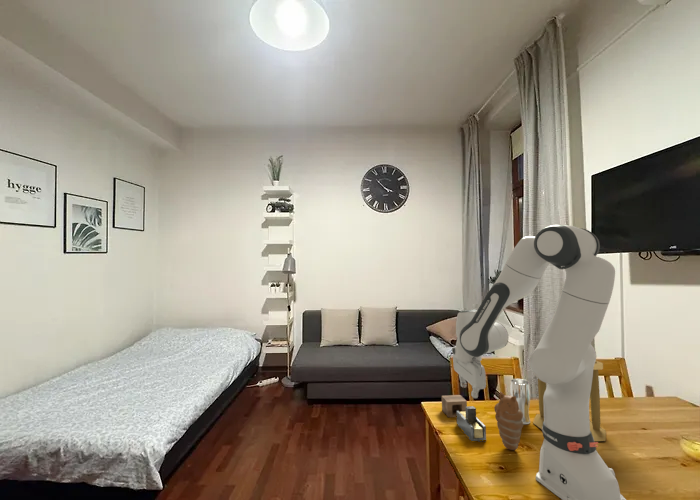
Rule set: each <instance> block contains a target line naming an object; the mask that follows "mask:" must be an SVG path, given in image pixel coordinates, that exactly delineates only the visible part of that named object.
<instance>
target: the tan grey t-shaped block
mask: <svg viewBox="0 0 700 500" xmlns="http://www.w3.org/2000/svg"><path fill="white" fill-rule="evenodd" d="M460 413H461V414H462V415H463V416H464V417H465V418H466V419H467V421H468V422H469V423H470V424H471V425H472V426H473V432H474V438H483V429H482V428H481V427H480V425H479V424H478V423H477V422H476V417H477V408H476V407H475V406H474V405H472V406H468V405H467V407H466V411H463V412H460Z"/></svg>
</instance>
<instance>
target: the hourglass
mask: <svg viewBox="0 0 700 500" xmlns="http://www.w3.org/2000/svg"><path fill="white" fill-rule="evenodd" d="M603 369H604V362H602V361H598V360H596V361H595V364H594V368H593V378H592V386H591V392H590V399H589V401H590V413H591V414H590V415H591V420H590V431H591V433H592V436H593V438H594V442H606V439H607V436H606V435H607V434H606V429H605V428H603V427H602V426H601V396H600V394H601V393H600V380H599V379H600V378H599V371H600V370H603ZM546 388H547V383H545V382H543V381H541V380H539V379H538V378H537V390H538V391H537V392H538V411H539V413H536V415H535V416H534V419H533V421H532V423H533V424H534V425H535V426H537V428H539V429H540V430H541V431H542V426H543V422H544V402H543V396H544V393H545V390H546Z"/></svg>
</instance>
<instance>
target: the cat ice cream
mask: <svg viewBox="0 0 700 500" xmlns="http://www.w3.org/2000/svg"><path fill="white" fill-rule="evenodd" d="M499 396H500V397H499V398H500V399H499V401H498V403H496V404H495V405H494V409H493V410H494V413H495V414H494V415H495V420H496V421H497V423H496V426H497V428H498V432H499V437H500V438H501V442H502V445H503V446H504V447H505V448H506V449H507V450H510V451H516V450H518V448H519V443H520V442H521V441H520V440H521V435H522V429H523V427H524V424H523V422H522V418H523V413H522V411H521V410H520V409H519V405H518V402H517V400H516V396H511V394H510V395H509V394H506V395H505V394H504V392H502V391H500V393H499Z"/></svg>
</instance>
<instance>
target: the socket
mask: <svg viewBox="0 0 700 500" xmlns="http://www.w3.org/2000/svg"><path fill="white" fill-rule="evenodd" d="M467 402H468V401H467V400H466V399H465V397H463V395H461V394H450V395H448V394H447V395H441V411H442V413H443V414H444V415H445V414H446V415H447V416H446V415H445V416H446V417H447V418H457V417H456V416H457V411H459V412H463V411H466V407H468V403H467Z"/></svg>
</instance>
